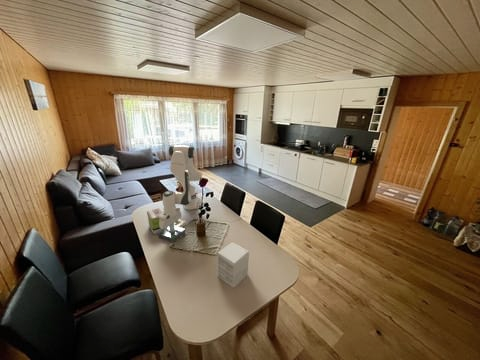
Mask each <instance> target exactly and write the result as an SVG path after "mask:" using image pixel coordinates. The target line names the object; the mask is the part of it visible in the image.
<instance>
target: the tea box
mask: <svg viewBox="0 0 480 360" xmlns="http://www.w3.org/2000/svg"><path fill="white" fill-rule="evenodd" d="M162 212H163V211H161V209H160V208H159V207H158V208H155V209H151V210H147V211H146V215H147V221H148V226H149V229H150V230H151V232H152V234H153V235H157V234H159V233H160V232H162V231H163V230H165V229H161V228H160V227H159V220H160V218H159V215H160V214H161V213H162Z"/></svg>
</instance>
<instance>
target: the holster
mask: <svg viewBox="0 0 480 360" xmlns="http://www.w3.org/2000/svg"><path fill="white" fill-rule="evenodd" d="M174 223H175V222H174ZM186 225H187V221H186V220H183V219H181V218H180V219H178V223H177V225H174V226H177V227H181V228H183V227H184V226H186Z"/></svg>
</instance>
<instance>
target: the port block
mask: <svg viewBox="0 0 480 360" xmlns="http://www.w3.org/2000/svg"><path fill="white" fill-rule="evenodd" d="M167 229H169V226H168V228H167ZM174 229H175V232H174V233H173V234H171V233H170V229H169V231H168V232H166V229H165V230H163V231H162V232H160V233H158V238H159V239H160V240H163V241H167V242H169V243H171V244H174V243H176V242H177V241H178V240H179V239H180V238H181V237H184V235H185V234H186V228H183V227H182V228H181V227H177V226H174Z"/></svg>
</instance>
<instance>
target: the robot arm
mask: <svg viewBox="0 0 480 360" xmlns="http://www.w3.org/2000/svg"><path fill="white" fill-rule="evenodd" d="M168 155H169V157H171V159H170V165H169V172H170V173H171V174H172V175H174V179H175V180H176V181H177V182H178V183H180V184H181V186H182V188H183V191H175V190H174V191H172V190H166V191H165V192H163V194H162V205H163V210H162V211H161V212H162V213H161V214H160V215H159V218H160V220H159V227H160V228H161V229H166V232H168V231H169V229H167V228H168V227H169V226H170V225H171V224H172V223H174V222H175V223H174V225H178V224H177V223H178V219H180V220H181V218H182V212H181V208H180V207H176V205H181V206H183V209H185V210H190V211H191V210H195V209H196V210H197V208H198V209H199V208H200V207H201V206H202V205H201V201H202V200H201V197H200V196H198V194H199V192H196V188H195V187H196V186H195V184H193V183H191V182H198V181H201V180H200V178H201V179H202V178H203V173H202V172H201V170H199V169H197V168H196V166H195V165H194V161H193V159H194V158H195V156H196V149H195V147H194V146H192V145H184V144H181V145H179V144H177V145H176V144H171V145H169V148H168ZM200 205H201V206H200ZM199 206H200V207H199Z"/></svg>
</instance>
